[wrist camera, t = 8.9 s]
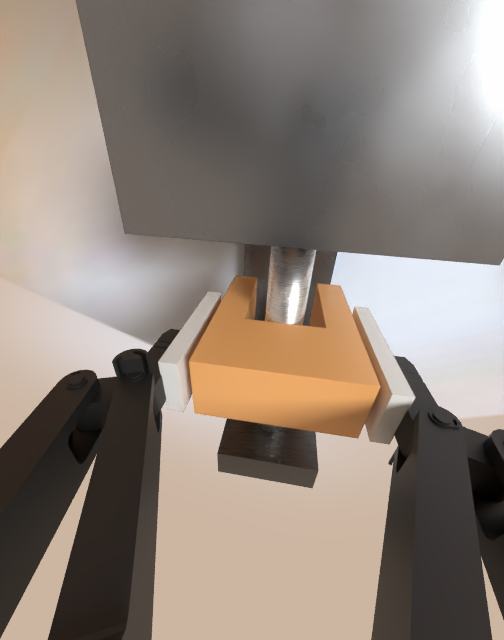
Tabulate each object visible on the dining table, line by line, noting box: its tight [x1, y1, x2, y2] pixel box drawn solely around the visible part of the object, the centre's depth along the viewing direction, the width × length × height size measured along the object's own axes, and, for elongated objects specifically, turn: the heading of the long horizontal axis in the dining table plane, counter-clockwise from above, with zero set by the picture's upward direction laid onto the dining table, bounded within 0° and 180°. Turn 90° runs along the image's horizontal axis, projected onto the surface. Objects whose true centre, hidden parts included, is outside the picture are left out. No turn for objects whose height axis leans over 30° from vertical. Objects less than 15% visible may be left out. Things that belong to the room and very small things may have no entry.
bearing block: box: [76, 0, 504, 326], centre depth 15 cm, size 20×10×14 cm, turn 178°
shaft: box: [218, 246, 318, 488], centre depth 15 cm, size 15×6×6 cm, turn 178°
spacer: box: [189, 276, 381, 438], centre depth 14 cm, size 3×7×9 cm, turn 88°
